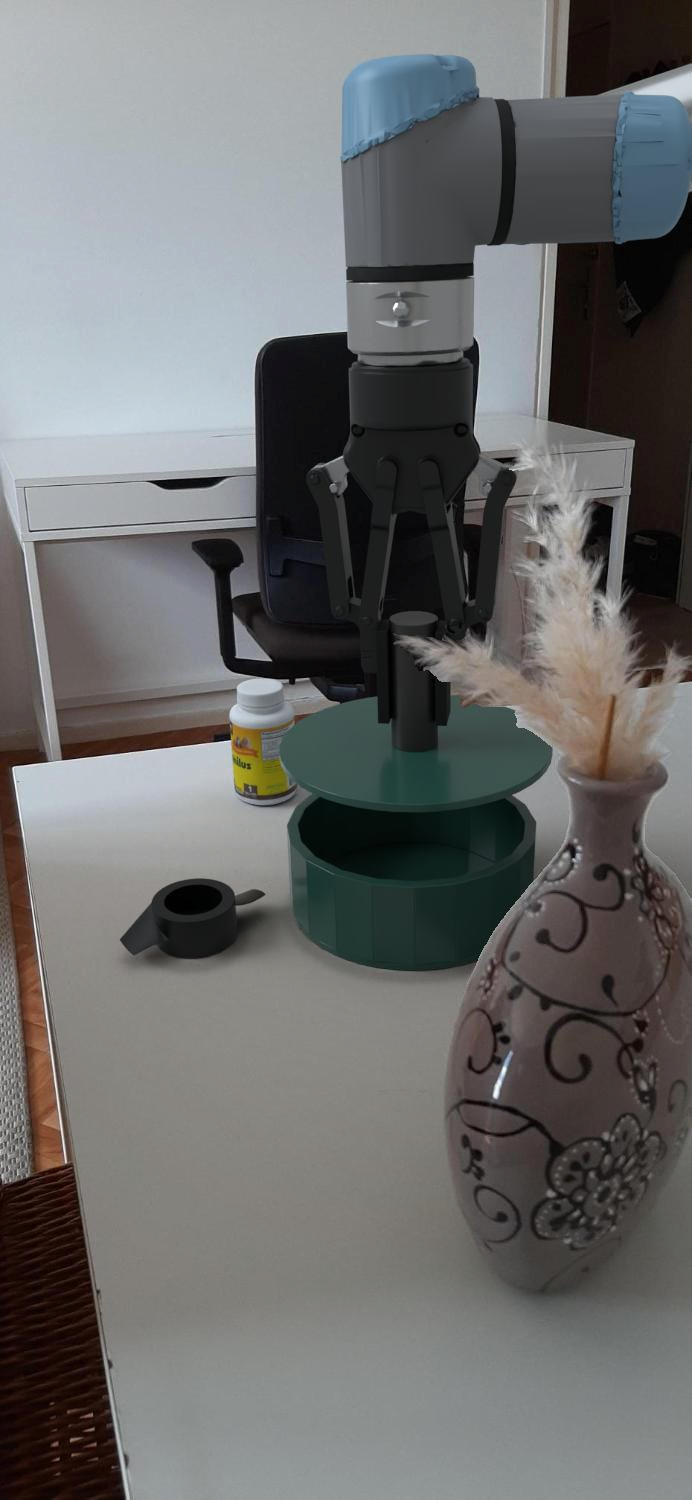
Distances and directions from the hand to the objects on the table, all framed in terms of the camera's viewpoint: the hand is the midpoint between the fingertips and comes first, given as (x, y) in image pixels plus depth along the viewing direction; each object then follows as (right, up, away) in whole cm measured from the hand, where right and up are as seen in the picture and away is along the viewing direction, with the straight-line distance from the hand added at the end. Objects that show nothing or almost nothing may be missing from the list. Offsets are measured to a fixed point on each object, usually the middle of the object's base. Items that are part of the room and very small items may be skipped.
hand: (414, 716), depth 79 cm
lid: (0, -2, +1) cm, 3 cm away
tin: (0, -13, +6) cm, 15 cm away
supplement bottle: (-12, -6, +23) cm, 27 cm away
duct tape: (-15, -16, +3) cm, 22 cm away
